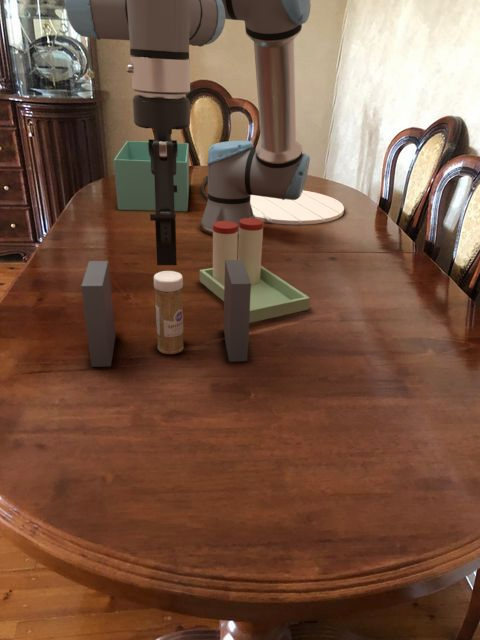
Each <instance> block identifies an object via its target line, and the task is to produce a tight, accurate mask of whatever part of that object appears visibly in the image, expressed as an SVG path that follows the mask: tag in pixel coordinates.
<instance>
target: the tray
mask: <svg viewBox="0 0 480 640" xmlns="http://www.w3.org/2000/svg"><path fill="white" fill-rule="evenodd" d="M199 282H200V283H201V284H203V285H204V286H205V287H206V288H207V289H208V290H209V291H211V292H212V293H213V294H214V295H215V296H217V297H218V298H219V299H221V300H222V301H223V302H224V286H223V285H222V284H220V283H219V282H218V281H217V280H215V279H214V278H213V267H209V268H204V269H199ZM310 299H311V297H309V296H308V295H307V294H305V293H303V292H302V291H301V290H299V289H297V288H296V287H295V286H293V285H291V284H290V283H288V282H287V281H286V280H284V279H282V278H281V277H279V276H278V275H276V274H274V273H273V272H272V271H270V270H268V269H267V268H266V267H264V266H263V265H261V274H260V282H259V283H258V284H255V285H251V294H250V315H249V324H251V323H256V322H261V321H264V320H268V319H269V320H270V319H274V318H278V317H282V316H287V315H290V314H295V313H298V312H304V311H309V310H310Z"/></svg>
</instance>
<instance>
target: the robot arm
mask: <svg viewBox="0 0 480 640" xmlns="http://www.w3.org/2000/svg"><path fill="white" fill-rule="evenodd" d="M64 7H65V11H66V16H67V19H68V22H69V24H70V26H71V28H72V29H73V31H75V33H76V34H77V35H79V36H81V37H84V38H90V39H91V38H92V39H96V40H97V41H98V40H99V41H100V40H114V41H115V40H117V41H129V55H130V62H131V63H132V64H129V63H128V64H126V67H125V71H126V72H127V73H128V74H133V75H131V86H132V90H133V91H135V92H137V94H135V95H133V97H132V111H133V123H134V125H136V126H137V127H139V128H142V129H151V130H152V133H153V139H152V138H151V139H148V141H147V142H148V150H149V156H150V157H151V173H152V174H153V175H154V178H155V207H156V211H154V213H150V214H149V216H150V217H149V220H150V222H154V224H155V227H154V228H155V247H156V249H155V250H156V266H177V229H176V228H177V225H176V222H177V221H176V218H177V214H176V211H174V192H175V193H177V185H174V179H173V176H174V175H175V174H176V158H177V156H178V145H177V143H178V140H177V139H173V138H172V134H173V130H185V129H188V128H189V127H190V125H191V101H190V100H189V98H188V97H187V94H189V93H191V60H190V46H193V47H195V46H196V47H199V48H200V47H204V46H207V45H210V44H212V43H214V42H215V41H217V40H218V39H219V37H220V36H221V35H222V33H223V32H224V31H223V30H224V28H225V24H226V20H232V21H244V29H245V35H246V36H247V37H248V38H249V39H250V40H251V41H252V42H253V49H254V50H253V52H254V63H255V77H256V91H257V104H258V119H259V133H260V142H258V143H257V145H256V146H255V147H256V148H254V143H253V141H251V140H229V141H221V142H216V143H213V144H212V145H210V146H209V148H208V152H207V153H208V154H207V162H206V164H207V175H205V177H204V181H203V183H202V185H201V189H200V190H201V191H200V192H201V195H202V196H203V197H204V198H205V200H207V202H206V205H205V209H204V211H203V215H202V217H201V222H200V229H201V231H202V232H203V233H205V234H207V235H210V236H213V223H215V222H218V221H231V222H235V223H237V224H238V238H239V220H240V219H243V218H255V215H253V211H252V207H251V203H250V198H251V195H255V196H263V197H270V198H278V199H282V200H285V199H287V200H296V199H298V198H299V197H300V196H301V194H302V191H303V190H304V188H305V185H306V182H307V177H308V173H309V168H310V161H311V158H310V155H309V154H307V153H306V152H305V153H304V152H303V145H302V143H301V142H300V141H299V140H298V139H297V123H296V121H297V119H296V117H297V115H296V111H297V110H296V108H297V107H296V50H295V49H296V47H295V46H296V42H295V41H296V40H295V39H296V37H298V36H299V34H300V33H301V31H302V28H303V26H302V25H303V24H306V23H307V22H308V20H309V18H310V13H311V7H312V6H311V0H64ZM206 184H207V194H206V193H205V186H206Z"/></svg>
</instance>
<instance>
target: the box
mask: <svg viewBox="0 0 480 640" xmlns="http://www.w3.org/2000/svg"><path fill="white" fill-rule="evenodd" d="M148 142H149V141H141V140H126V142H125V143H124V144H123V146H122V147H121V149H120V150H119V152H118V153H117V154H116V156H115V157H114V159H113V166H114V167H113V168H114V179H115V189H116V190H115V191H116V202H117V203H116V204H117V210H118V211H122V210H123V211H151V212H153V211H154V212H156V207H155V178H154V175H153V174H152V173H151V157H150V156H149V150H148ZM177 145H178V156H177V158H176V174H175V175H174V176H173V179H174V185H177V193H175V192H174V211H175V212H188V209H189V193H190V192H189V191H190V163H189V162H190V157H189V156H190V155H189V154H190V151H189V149H190V148H189V143H187V142H177Z"/></svg>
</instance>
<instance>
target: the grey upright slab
mask: <svg viewBox="0 0 480 640" xmlns="http://www.w3.org/2000/svg"><path fill="white" fill-rule="evenodd" d="M250 294H251V282H250V280H249V277H248V274H247V271H246V268H245V266H244V263H243V260H238V259H237V260H225V284H224V301H223V333H224V343H225V347H226V352H227V358H228V361H229V362H230V363H232V362H234V363H235V362H247V361H248V356H249V353H248V351H249V334H250V333H249V332H250V331H249V330H250V323H249V315H250Z"/></svg>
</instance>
